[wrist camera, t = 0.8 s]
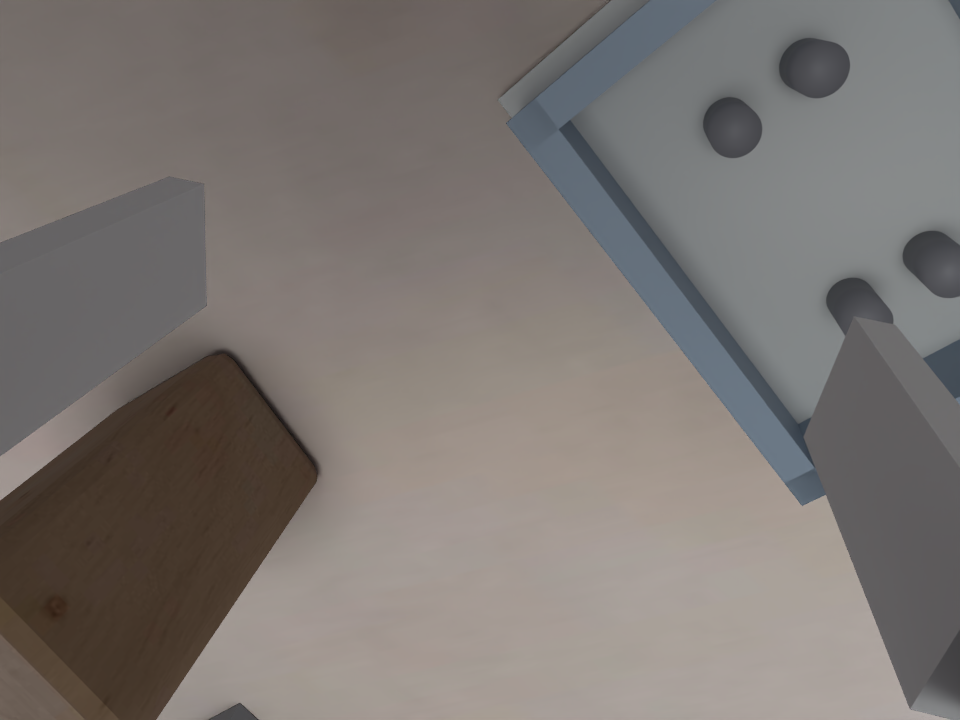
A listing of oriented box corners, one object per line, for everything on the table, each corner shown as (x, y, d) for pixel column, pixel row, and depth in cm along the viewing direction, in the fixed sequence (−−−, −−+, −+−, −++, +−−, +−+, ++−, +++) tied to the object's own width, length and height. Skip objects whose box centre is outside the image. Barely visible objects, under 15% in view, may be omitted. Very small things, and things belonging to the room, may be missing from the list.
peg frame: (501, 97, 34) (480, 111, 30) (880, -234, 27) (927, -281, 22) (785, 466, 40) (803, 525, 35) (1166, 274, 32) (1251, 317, 28)
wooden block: (228, 341, 43) (-60, 579, 25) (329, 474, 46) (132, 773, 28) (116, 408, 47) (-205, 656, 29) (215, 527, 49) (-22, 821, 32)
